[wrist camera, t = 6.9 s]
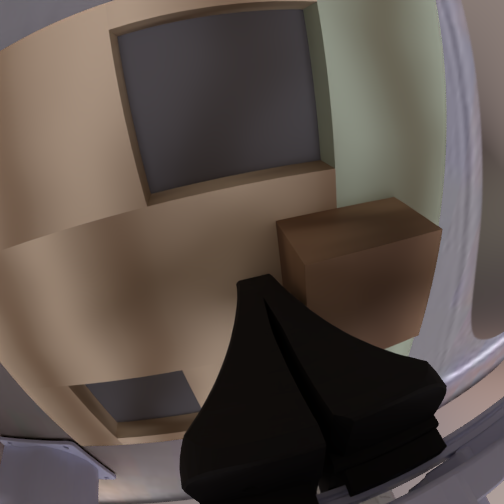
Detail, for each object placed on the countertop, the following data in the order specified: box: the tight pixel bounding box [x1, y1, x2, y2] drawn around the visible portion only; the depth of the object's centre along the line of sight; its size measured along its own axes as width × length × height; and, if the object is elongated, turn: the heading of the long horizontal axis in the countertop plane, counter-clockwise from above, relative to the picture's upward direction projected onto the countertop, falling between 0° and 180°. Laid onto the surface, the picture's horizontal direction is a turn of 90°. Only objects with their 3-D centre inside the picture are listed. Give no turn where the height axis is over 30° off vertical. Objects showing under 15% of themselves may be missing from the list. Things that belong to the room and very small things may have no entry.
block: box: [276, 197, 442, 349], centre depth 11 cm, size 5×5×3 cm
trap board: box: [0, 0, 446, 446], centre depth 13 cm, size 23×22×2 cm
